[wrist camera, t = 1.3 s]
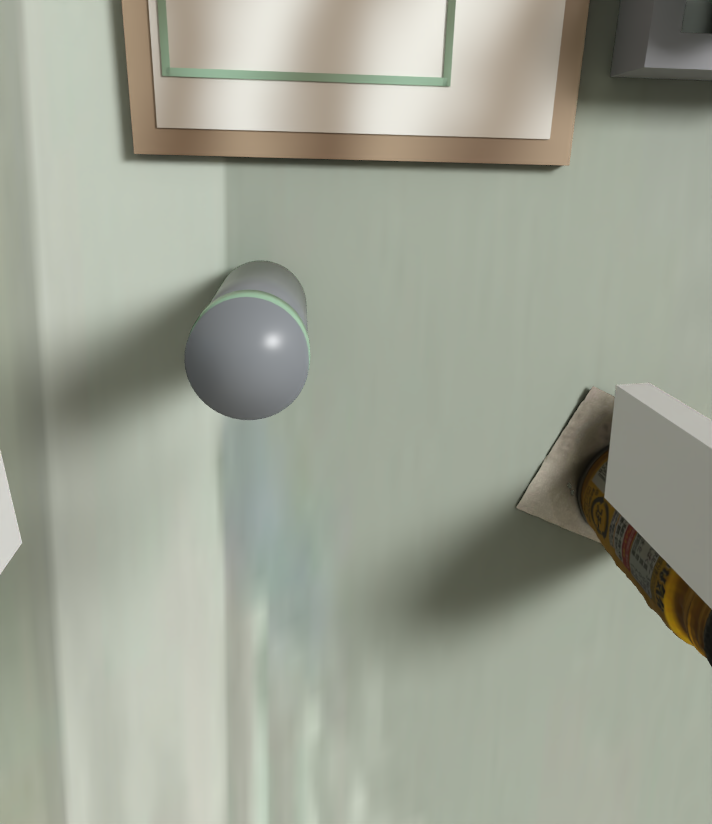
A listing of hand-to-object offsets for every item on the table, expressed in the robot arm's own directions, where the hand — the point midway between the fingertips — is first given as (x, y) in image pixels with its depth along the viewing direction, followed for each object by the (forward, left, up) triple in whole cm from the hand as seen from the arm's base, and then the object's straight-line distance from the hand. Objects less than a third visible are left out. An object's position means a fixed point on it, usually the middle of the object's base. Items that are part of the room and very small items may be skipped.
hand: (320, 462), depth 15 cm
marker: (-2, 0, -17) cm, 17 cm away
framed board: (+2, +13, -17) cm, 22 cm away
